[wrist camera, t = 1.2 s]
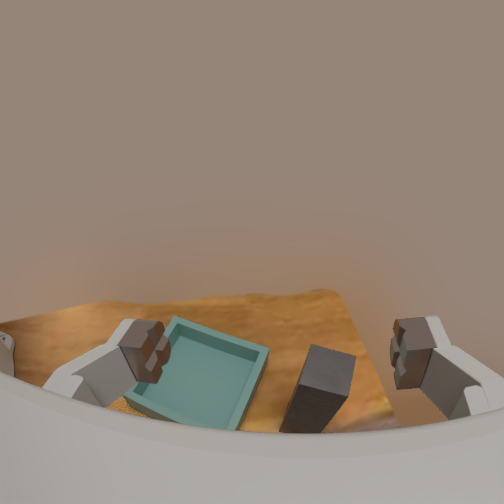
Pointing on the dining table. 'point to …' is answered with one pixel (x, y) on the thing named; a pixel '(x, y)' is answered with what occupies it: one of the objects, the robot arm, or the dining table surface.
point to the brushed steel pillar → (319, 391)
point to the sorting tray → (202, 378)
